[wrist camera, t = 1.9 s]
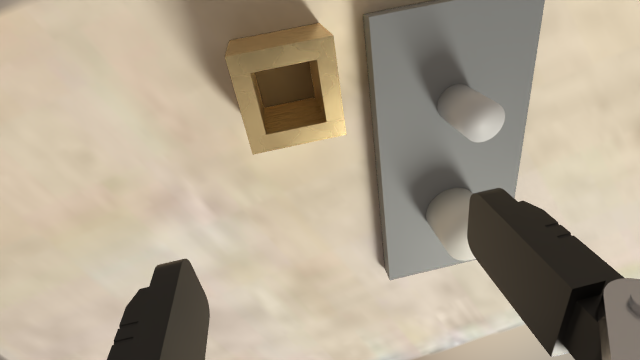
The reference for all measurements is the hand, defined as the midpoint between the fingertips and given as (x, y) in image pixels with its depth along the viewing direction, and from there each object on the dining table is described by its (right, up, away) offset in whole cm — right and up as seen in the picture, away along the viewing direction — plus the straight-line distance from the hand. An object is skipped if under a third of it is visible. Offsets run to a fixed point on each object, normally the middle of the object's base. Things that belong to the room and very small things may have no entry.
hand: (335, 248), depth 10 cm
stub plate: (+10, +4, +21) cm, 23 cm away
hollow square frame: (-3, +9, +15) cm, 18 cm away
